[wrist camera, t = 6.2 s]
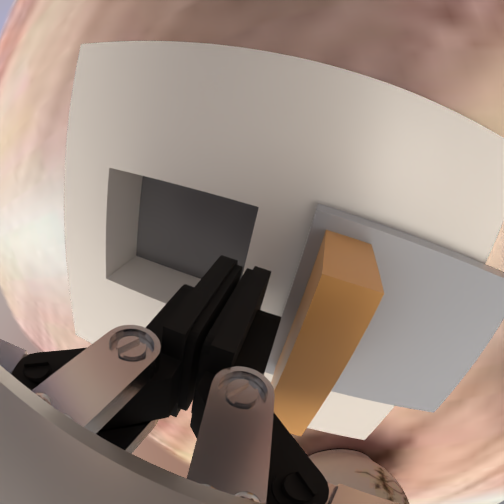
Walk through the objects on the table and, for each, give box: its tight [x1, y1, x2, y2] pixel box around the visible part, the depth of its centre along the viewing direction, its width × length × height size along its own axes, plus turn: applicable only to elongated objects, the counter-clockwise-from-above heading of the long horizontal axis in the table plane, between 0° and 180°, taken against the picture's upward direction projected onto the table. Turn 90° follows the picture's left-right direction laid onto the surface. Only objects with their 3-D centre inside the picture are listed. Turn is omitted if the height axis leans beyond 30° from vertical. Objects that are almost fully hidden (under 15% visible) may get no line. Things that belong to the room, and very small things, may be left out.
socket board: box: [64, 41, 504, 440], centre depth 13 cm, size 16×18×3 cm
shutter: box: [265, 204, 504, 436], centre depth 9 cm, size 7×8×4 cm
